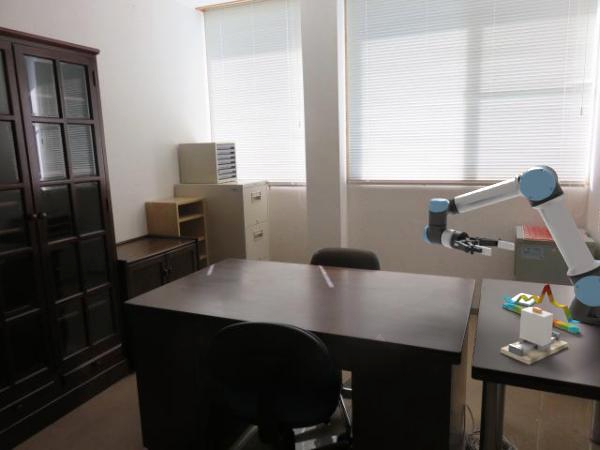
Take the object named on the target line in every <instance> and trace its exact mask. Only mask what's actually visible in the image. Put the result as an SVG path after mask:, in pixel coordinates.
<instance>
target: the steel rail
mask: <svg viewBox="0 0 600 450" xmlns="http://www.w3.org/2000/svg"><path fill="white" fill-rule="evenodd" d="M556 340H557V341H558V340H561V333H560V332H559V331H555V330H552V336H551V342H554V341H556ZM508 345H509V351H508V352H511V353H513V354H516V355H518V356H520V357H522V356H523V355H524V354H526V353H528V352H531V351H533V350H535V349H537V348H538V344H535V343H532V342H530V341H527V342H525V343H522V344H520V345H518V346H515V345H513V343H510V344H508Z"/></svg>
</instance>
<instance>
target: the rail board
mask: <svg viewBox="0 0 600 450" xmlns="http://www.w3.org/2000/svg"><path fill="white" fill-rule="evenodd" d="M512 344H513V345H515V346H518V345H520V343H519V340H518V341H516V342H513V343H512ZM568 345H569V342H567V341H564V340H561V339H560V340H558V341H557V340H556V341H554V342H551V348H550V349H547V350H545V351H543V352H541V351H538V350H537V349H535V350H533V351H531V352H528V353H526V354H524V355H523V356H522V357H520V356H518V355H516V354H513V353H511V352H508V351H509V344H508V345H506V346H503V347H501V348H500V354H502V355H505V356H508V357H510V358H513V359H515V360H517V361H519V362H522V363H524V364H526V365H531V364H533V363H536V362H538V361H541V360H542V359H544V358H547V357H549V356H551V355H553V354H555V353H558V352H559V351H561V350H564V349H566V348H568V347H569V346H568Z"/></svg>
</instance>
